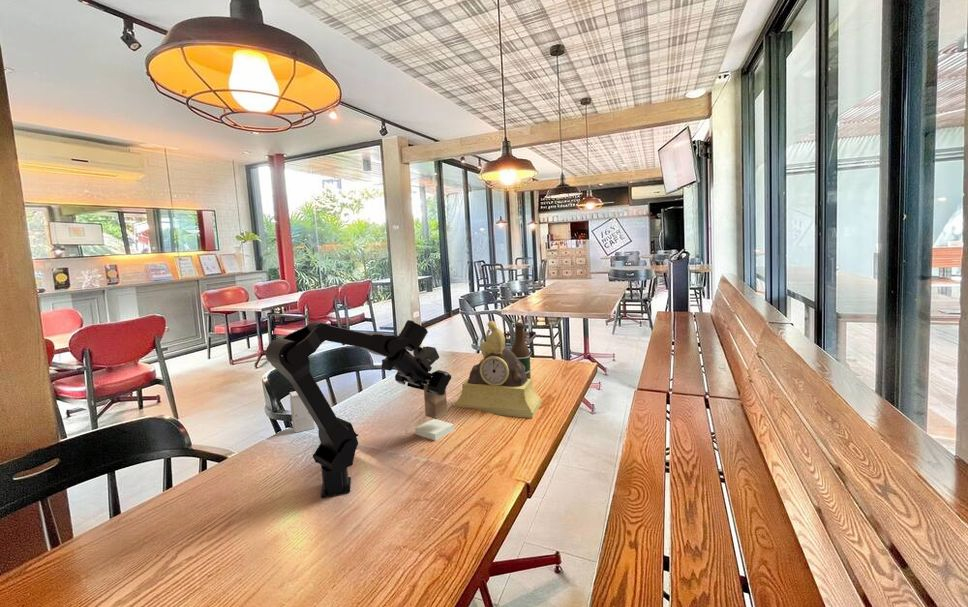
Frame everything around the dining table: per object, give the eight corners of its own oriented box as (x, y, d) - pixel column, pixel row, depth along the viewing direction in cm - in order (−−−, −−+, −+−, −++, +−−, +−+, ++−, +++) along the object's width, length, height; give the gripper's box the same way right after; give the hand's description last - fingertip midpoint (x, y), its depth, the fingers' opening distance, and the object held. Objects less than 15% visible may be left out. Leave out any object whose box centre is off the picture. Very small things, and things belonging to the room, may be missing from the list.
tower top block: (453, 430, 127) (453, 424, 127) (435, 441, 121) (435, 434, 120) (434, 424, 132) (434, 418, 131) (415, 434, 125) (415, 427, 125)
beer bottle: (509, 384, 170) (507, 325, 167) (513, 378, 177) (512, 321, 174) (528, 385, 168) (527, 325, 164) (532, 379, 175) (530, 321, 172)
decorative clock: (452, 410, 146) (447, 324, 142) (466, 397, 158) (462, 317, 154) (532, 418, 137) (530, 326, 132) (541, 404, 148) (539, 319, 144)
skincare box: (295, 433, 133) (290, 396, 131) (292, 428, 136) (288, 392, 135) (315, 428, 136) (311, 391, 134) (312, 423, 140) (308, 387, 138)
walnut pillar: (447, 414, 125) (445, 381, 124) (435, 419, 122) (434, 385, 121) (436, 410, 128) (435, 378, 127) (425, 415, 125) (423, 382, 123)
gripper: (444, 343, 113) (474, 373, 122) (400, 335, 125) (430, 363, 135) (423, 380, 108) (456, 408, 118) (379, 368, 120) (412, 394, 130)
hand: (438, 392), depth 125 cm, fingers closed on walnut pillar, 4 cm apart
